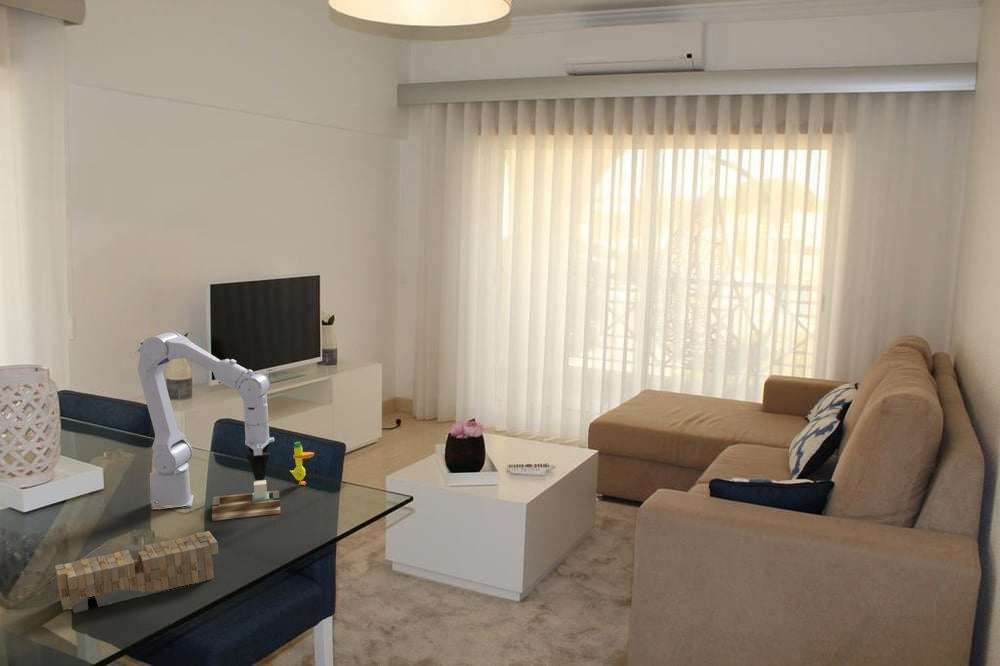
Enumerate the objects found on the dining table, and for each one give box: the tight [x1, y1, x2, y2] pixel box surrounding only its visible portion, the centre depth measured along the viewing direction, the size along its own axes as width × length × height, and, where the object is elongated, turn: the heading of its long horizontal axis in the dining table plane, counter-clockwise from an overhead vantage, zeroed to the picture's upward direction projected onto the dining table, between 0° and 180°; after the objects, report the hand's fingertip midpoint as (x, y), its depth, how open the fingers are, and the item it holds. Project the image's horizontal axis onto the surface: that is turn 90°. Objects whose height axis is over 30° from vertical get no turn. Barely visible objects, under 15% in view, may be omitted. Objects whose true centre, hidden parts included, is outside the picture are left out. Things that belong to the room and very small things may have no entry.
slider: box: [252, 479, 269, 502], centre depth 212 cm, size 4×5×5 cm
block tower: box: [54, 530, 219, 602], centre depth 168 cm, size 8×8×29 cm
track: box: [211, 490, 281, 521], centre depth 212 cm, size 16×12×3 cm
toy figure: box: [289, 441, 315, 486], centre depth 228 cm, size 7×4×12 cm, turn 109°
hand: (259, 475), depth 212 cm, fingers open, 7 cm apart
